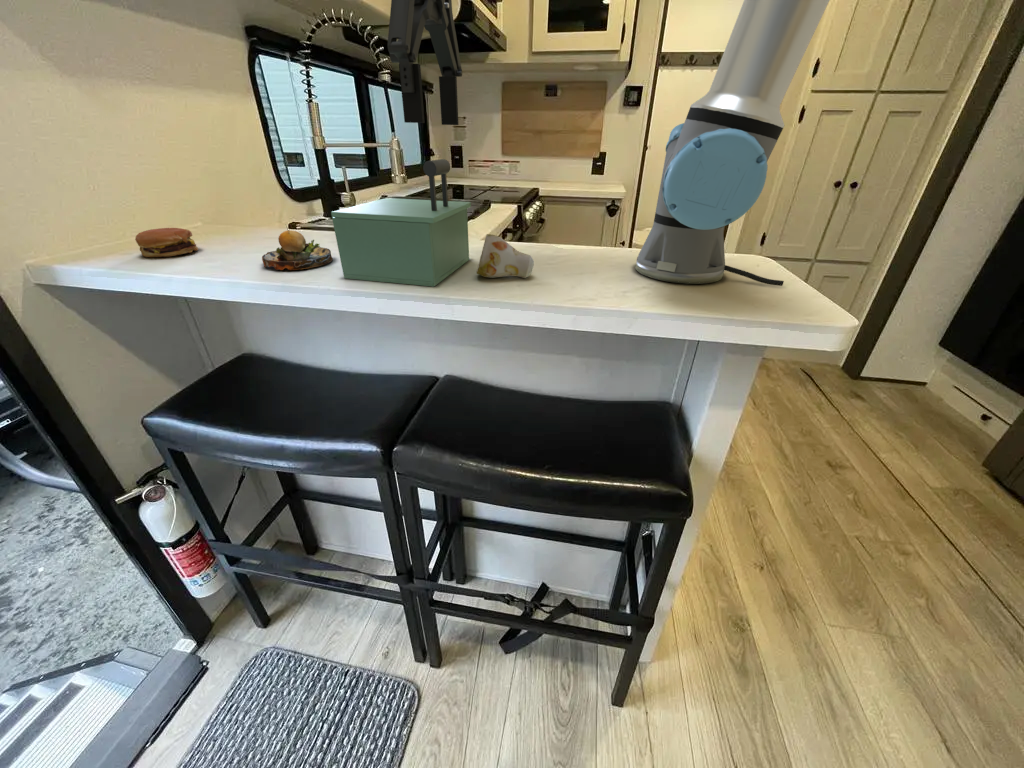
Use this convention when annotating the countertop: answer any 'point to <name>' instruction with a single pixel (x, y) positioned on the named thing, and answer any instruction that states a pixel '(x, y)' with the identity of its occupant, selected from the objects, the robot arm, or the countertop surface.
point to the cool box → (402, 249)
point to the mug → (503, 259)
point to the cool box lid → (410, 203)
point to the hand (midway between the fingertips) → (434, 124)
